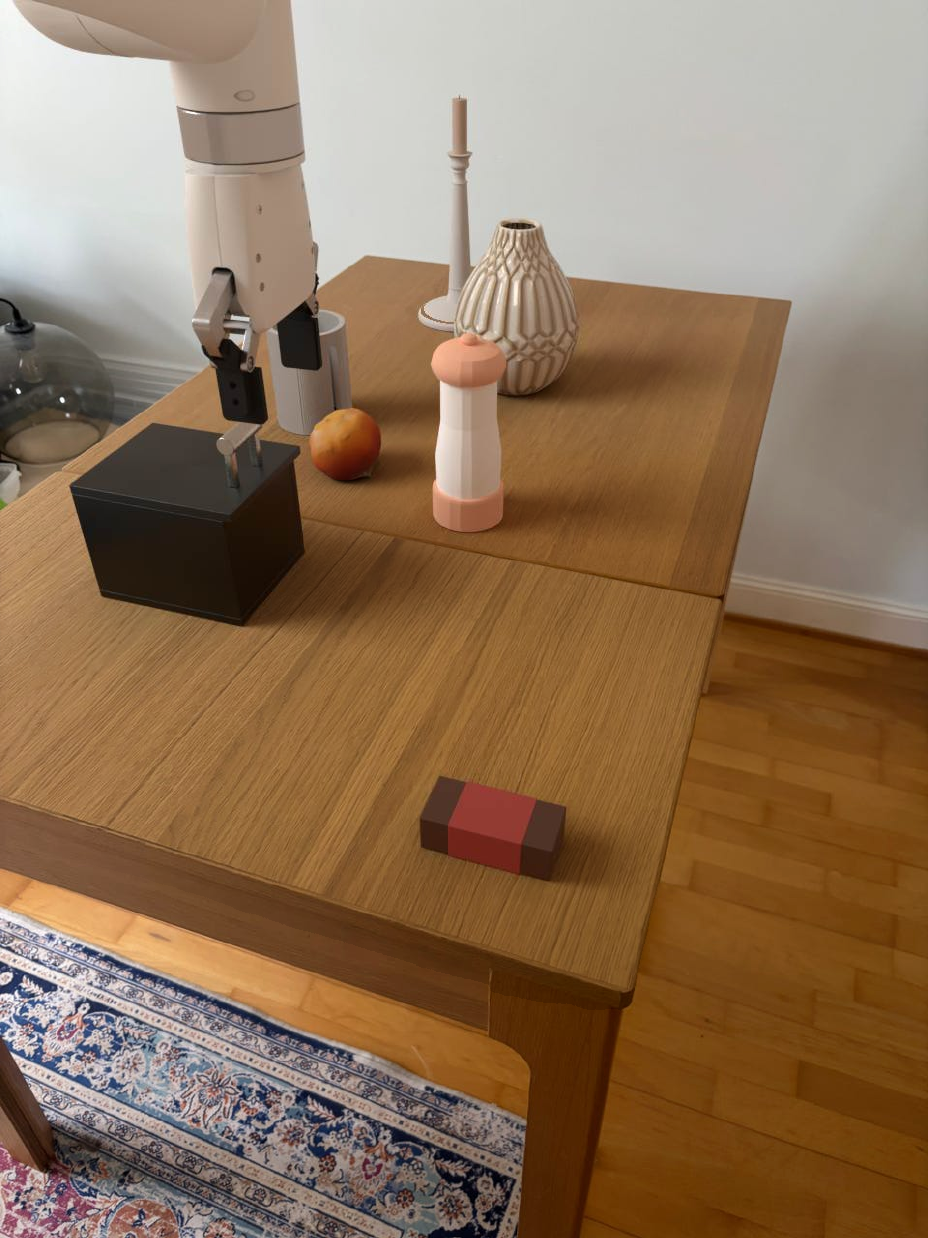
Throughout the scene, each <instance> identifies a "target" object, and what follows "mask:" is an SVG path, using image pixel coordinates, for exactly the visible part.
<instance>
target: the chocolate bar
mask: <svg viewBox="0 0 928 1238" xmlns="http://www.w3.org/2000/svg"><path fill="white" fill-rule="evenodd" d="M422 809H423V810H422V811H421V814H420V816H419V839H420V848H423V849H427V850H431V851H436V852H439V853H441V854H446V855H448V856H449V857H453V858H457V859H461V860H464V861H468V862H472V863H476V864H479V865H483V866H487V867H491V868H494V869H499V870H502V871H505V872H509V873H514V874H516V875H517V874H518V875H520V874H522V875H525V876H529V877H532V878H536V879H540V880H544V881H548V882H549V881H551V878H552V876H553V872H554V868H555V865H556V864H557V863H556V862H557V860H558V856H559V853H560V850H561V847H562V844H563V840H564V837H565V829H566V828H565V827H566V817H567V806H566V805H561V804H559V803H558V804H557V803H553V802H550V801H545V800H541V799H538V798H537V797H533V796H529V795H525V794H520V793H516V792H512V791H509V790H505V789H501V788H497V787H492V786H489V785H484V784H481V783H476V782H472V781H463V780H459V779H455V778H451V777H446V776H442V775H438V777H437V779H436V781H435V784H434V786H433V788H432V790H431V792H430V794H429V796H428V799H427V801H426V803H425V805H424V807H423V808H422Z"/></svg>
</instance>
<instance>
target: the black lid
mask: <svg viewBox="0 0 928 1238" xmlns="http://www.w3.org/2000/svg"><path fill="white" fill-rule="evenodd" d="M262 428H263V424H262V425H259V424H251V423H243V422H237V423H236V424H234V425H233V426H232V427H231V428H230V429H229V430H227V431H226V432H224V433H221V432H215V431H208V430H202V429H196V428H190V427H184V426H177V425H171V424H164V423H158V422H151V423H150V424H148V425H147V426H145V427H144V428H143V429H141V431H139V432H138V433H136V434H135V435H134V436H133V437H131V438H130V439H129V440H127V441H126V442H125V443H123V444H122V445H120V446H119V447H118V448H116V449H115V450H114V451H112V452H111V453H110V454H108V455H107V456H106V457H104V458H103V459H101V460H100V461H99V462H97V464H95V465H94V466H92V467H91V468H90V469H89V470H87V471H86V472H84V473H83V474H81V475H80V476H79V477H78V478H76V479H75V480H74V481H72V482H71V483H70V484H69V485H68V487H69V491H70V493H71V494H72V493H73V494H79V495H84V496H90V497H95V498H100V499H106V500H111V501H117V502H122V503H128V504H133V505H138V506H144V507H149V508H155V509H160V510H166V511H171V512H176V513H182V514H187V515H193V516H198V517H204V518H209V519H214V520H220V521H225V522H231V523H232V522H233V521H234V520H235V519H236V518H237V517H238V516H239V515H240V514H241V513H242V512H243V511H244V510H245V509H246V508H247V507H248V506H249V505H250V504H251V503H252V502H253V501H254V500H255V499H256V498H257V497H258V496H259V495H260V494H261V493H262V492H263V491H264V490H265V489H266V488H267V487H268V486H269V485H270V484H271V483H272V482H273V481H274V480H275V479H276V478H277V477H278V476H279V475H280V474H281V473H282V472H283V471H284V470H285V469H286V468H287V467H288V466H289V465H290V464H291V463H292V462H293V461H294V462H295V460H296V459H297V458H298V457H299V456H300V455H301V453H302V452H301V445H298V444H297V445H296V444H292V443H291V444H290V443H285V442H284V443H283V442H277V441H272V440H271V441H270V440H265V439H260V435H259V431H260V430H261V429H262Z"/></svg>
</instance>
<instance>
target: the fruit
mask: <svg viewBox="0 0 928 1238" xmlns="http://www.w3.org/2000/svg"><path fill="white" fill-rule="evenodd" d="M308 447H309V451H310V457H311V462H312V464H313V466H314V467H315V468H316V469H317V470H318V471H319V472H321V473H322V474H323V475H325V476H327V478H328V477H329V478H330V479H333V480H336V481H353V480H355V479H359V478H363V477H368V478H372V472H373V469H374V466H375V464H376V462H377V463H381V460H378V459H379V456H380V453H381V447H382V435H381V430H380V427H379V426H378V423H377V422H376V421H375V420H374V418H373V417H372V416H371V415H369V414H367V412H365V411H364V410H362V409H359V408H354V407H352V408H350V409H343V410H337V409H336V410H334V412H333V413H331V414H329V415H327V416H326V417H325V418H324V419H323V420H322V421H320V422H319V423H318V424H316V425H315V428H314V430H313V432H312V433H311V435H309V442H308Z"/></svg>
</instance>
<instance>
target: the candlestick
mask: <svg viewBox="0 0 928 1238" xmlns="http://www.w3.org/2000/svg"><path fill="white" fill-rule="evenodd" d="M458 95H459V96H458V97H454V98H451V105H452V106H451V119H452V120H451V127H452V128H451V129H452V130H451V131H452V133H451V134H452V138H451V139H452V140H451V141H452V150H451V151H447V152H446V155H447V156H448V157H449V159H450V162H449V163H450V164H449V165H450V168H451V169H452V173H453V180H452V181H451V182H452V183H451V184H452V192H451V193H452V195H451V196H452V197H451V200H452V201H451V219H450V221H451V222H450V243H449V244H450V245H449V246H450V249H449V270H448V272H449V273H448V285H447V286H448V291H447V295H443V296H438V297H436V298H433V299H431V300H429V301H428V303H427V302H425V304H426V305H425V304H424V305H425V306H424V305H423V306H424V311H425V313H426V314H427V315H429V316H430V317H432V318H434V319H437V320H441V321H445V322H454V317H455V312H456V308H457V304H458V300H459V297H460V294H461V292H462V289H463V287H464V285H465V283H466V281H467V279H468V277H469V276H470V274H471V273H472V266H471V247H470V246H471V245H470V222H469V221H470V220H469V203H468V202H469V201H468V181H467V179H466V174H467V169H468V168H469V167H470V160H469V159H470V158H471V156H473V152H472V151H468V98H466V97H461V94H458ZM421 308H422V306H421V307H420V308H419V310H418V313H417V318H418V320H419V322H420V323H422V325H424V326H427V327H428V328H430V329H434V330H438V331H442V332H443V331H444V332H453V333H454V324H446V323H440V322H436V321H433V320H430V319H428V318H426V317H424V316H423V315H422V314H421Z"/></svg>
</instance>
